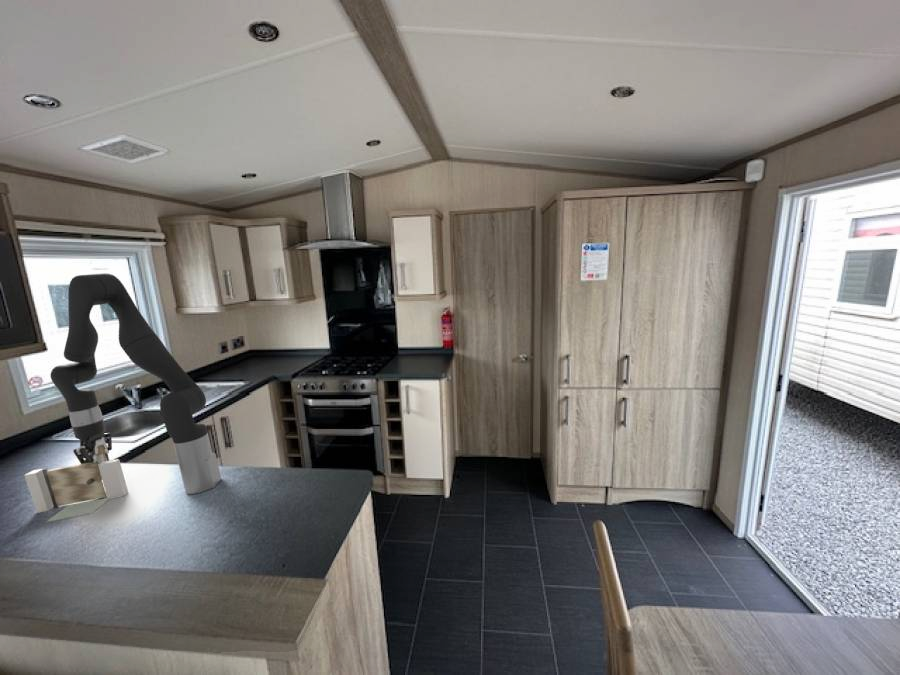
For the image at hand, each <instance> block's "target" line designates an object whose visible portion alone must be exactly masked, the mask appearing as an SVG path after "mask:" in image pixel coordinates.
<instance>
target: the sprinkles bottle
mask: <svg viewBox="0 0 900 675" xmlns="http://www.w3.org/2000/svg"><path fill="white" fill-rule="evenodd" d="M97 447H98V454H97V455H96V461H97V463H98V465H99V464H100V463H102V462H105V461H107V458H106V455H105V451H104V448H103V442H102V440H101V439H98V445H97ZM87 453H93V451H91V452H87ZM90 458H91V459H92V455H90ZM99 472H100V470H99ZM100 475H101V474H100ZM101 479H102V477H101Z"/></svg>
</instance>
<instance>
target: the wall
mask: <svg viewBox="0 0 900 675" xmlns="http://www.w3.org/2000/svg"><path fill="white" fill-rule="evenodd" d="M98 467H99V470H100V474H101V477H102V482H103V486H104V489H105V493H106V498H111V499H116V498H121V497H125V496H126V495H128V494H129V490H128V485H127V483H126V479H125V475H124V471H123V469H122V468H123V467H122V465H121V462H120V459H118V458H117V459H113V460H109V461H105V462H102V463H100V464H99V465H98Z"/></svg>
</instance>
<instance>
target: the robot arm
mask: <svg viewBox="0 0 900 675" xmlns="http://www.w3.org/2000/svg"><path fill="white" fill-rule="evenodd" d="M67 292H68V293H67V294H68V295H67V296H68V306H67V307H68V332H67V337H66V341H65V346H64V350H63V357H64V358H65V359H66V360H67V361H68V362H69V363H64V364H60V365H56V366H54V367H53V368H52V370H51V371H50V379H51V382H52V383H53V385H54V386H55V387H56V389H57V390H58V391H59V393H60V394H61V395H62V397H63V398H64V400H65V402H66V406H67V409H68V414H69V420H70V424H71V427H72V431H73V434H74V438H75V439H77V440H79V445H80V446H79V447H78V448H75V449H73V454H74V455H75V457H76V458H77V460H78V462H79V464H86V463H91V462H97V461H96V455H97V454H98V447H97V445H98V439H101V440H102V442H103V448H104V451H105V455H106V458H107V461H110V458H109V452H110V451H112V450H113V446H112V445H113V444H112V433H111V432H107V433H104V432H106V431H107V428H106V425H105V421H104V418H103V413H102V411H101V408H100V406H99V403H98V400H97V395H96V392H95V391H94V390H93V389H91V388H90V389H89V388H85V389H78V388H77V386H76V385H78V384H83V383H86V382H90V381H92V380H94V378H95V377H96V376H97V373H98V369H97V364H96V355H95V354H96V350H97V347H98V344H99V333H98V331H97V329H96V327H95V325H94V324H93V323H92V320H91V318H90V315H91V311H92V309H93V308H94V306H99V305H106V304H107V305H108V306H109V307H110V308H111V309H112V311H113V313H114V314H115V315H116V318H117V320H118V343H119V345H120V348H121V350H123V351H124V353H125V354H126V356H127V357H128V358H129V360H130V361H131V363H133V364H134V365H135V366H137V367H139V368H140V369H142V370H144V371H146V372H148V373H149V374H151V375H153V376H155V377H156V378H159V379H160V380H161V381H162V382H164V383H165V384H166V386H167V387H168V388H169V389H170V390H171V391H170V392H168V393H166V394H164V395H163V396H162V397H161V399H160V402H159V409H160V413H161V417H162V420H163V423H164V426H165V429H166V432H167V433H168V435H169V436H170V438H171V439H172V440H171V441H172V443H173V448H174V450H175V451H174V452H175V456H176V459H177V463H178V464H177V465H178V467H179V471H180V474H181V478H182V482H183V488H184V490H185V491H184V492H185V493H186V494H187V495H194V494H195V495H196V494H199V493H202V492H206V491H208V490H210V489H214V488H215V487H216V486H217V484H218V483H219V482H220V481H221V479H222V476H221V472H220V468H219V467H220V466H219V463H218V459H217V454H216V453H215V452H213V450H212V446H211V442H210V436H209V433H208V428H207V426H206V424H204V423H196V422H195V420H194V417H193V415H195V414H197V413H198V412H200V411H201V410H204V408H205V406H206V404H207V397H206V395H205V393H204V391H203V390H202V389H201V387H200V386H199V385H198V384H197V383H196V382H195V381H194V380H193V378H191V377H190V375H189V374H187V372H186V371H185V370H184V369H183V368H182V366H180V364H179V362H178V361H177V360H176V359H175V358H174V356H173V355H172V354H171V352H170V351H169V350H168V349H167V347H166V346H165V344H164V343H163V341H161V339H160V337H159V335H157V334H156V332H155V331H154V329H153V328H151V326H150V324H149V323H148V322H147V320H146V319H145V318H144V316H143V315H142V313H140V310H139V308H138V307H137V305H136V304H135V302H134V300H133V299H132V297H131V296H130V293H129V292H128V290H127V288H126V286H124V284H123V283H122V281H121V280H120V279H119V278H118V277H117V276H115V275H114V274H111V273H107V272H106V273H87V274H86V273H85V274H78V275H75V276H74V277H72V278H71V280H70V282H69V285H68V291H67ZM91 451H93V453H87V452H91ZM90 455H92V459H91V458H90ZM97 465H98V463H97ZM98 469H99V467H98Z"/></svg>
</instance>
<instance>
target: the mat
mask: <svg viewBox="0 0 900 675" xmlns="http://www.w3.org/2000/svg"><path fill="white" fill-rule="evenodd" d="M111 499H112V498H107V497H106V498H100V499H94V500H89V501H87V502H86V501H84V502H78V503H73V504H71V505H70V504H68V505H67V506H65V507H64V508H62V510H60V511H58V512H57V513H56V514H54V515H53V516H52V517H50V518H49V519H47V520H46V523H49V522H54V521H59V520H64V519H70V518H74V517H80V516H85V515H91V514H94V513H95V512H97V510H99V509H100V508H101V507H102V506H103V505H105V504H106V503H107V502H108V501H110V500H111Z"/></svg>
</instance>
